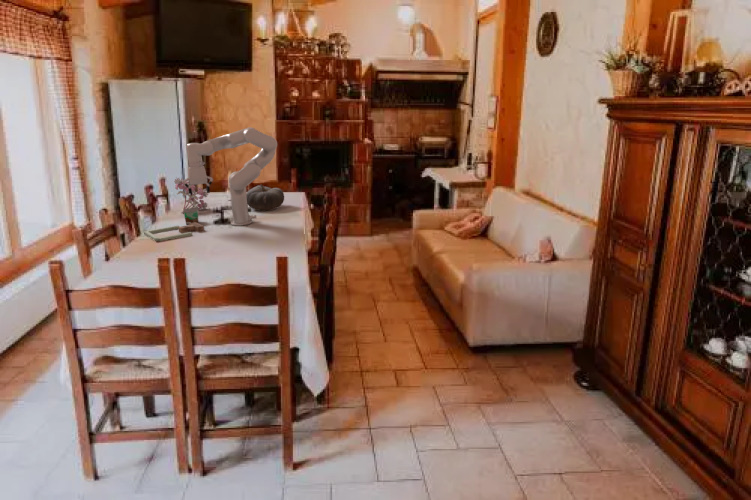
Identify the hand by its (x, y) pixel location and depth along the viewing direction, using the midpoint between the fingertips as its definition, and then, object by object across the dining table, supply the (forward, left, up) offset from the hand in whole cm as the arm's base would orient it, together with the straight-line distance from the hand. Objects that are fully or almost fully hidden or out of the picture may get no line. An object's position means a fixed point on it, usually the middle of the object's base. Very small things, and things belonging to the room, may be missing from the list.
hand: (199, 193), depth 324 cm
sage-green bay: (+21, +3, -20) cm, 30 cm away
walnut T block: (+9, +3, -20) cm, 23 cm away
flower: (-14, -49, -21) cm, 55 cm away
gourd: (-52, -19, -21) cm, 59 cm away
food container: (0, -14, -21) cm, 25 cm away
